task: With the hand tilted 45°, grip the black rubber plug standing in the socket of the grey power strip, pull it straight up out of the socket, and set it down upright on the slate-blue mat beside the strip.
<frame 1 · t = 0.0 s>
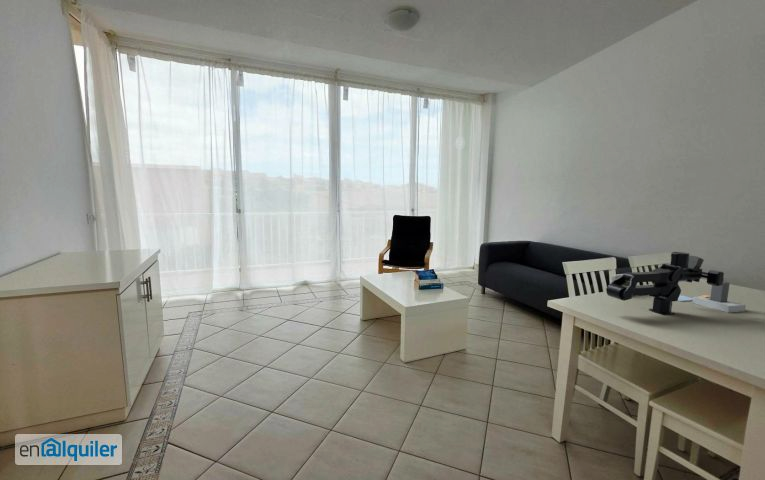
hand: (710, 273, 146), 17 cm above the table, tool horizontal, fingers open, 9 cm apart
power strip: (717, 306, 151), on the table
digital clock: (623, 294, 172), on the table
pad: (677, 298, 164), on the table
plug: (717, 306, 151), resting in power strip
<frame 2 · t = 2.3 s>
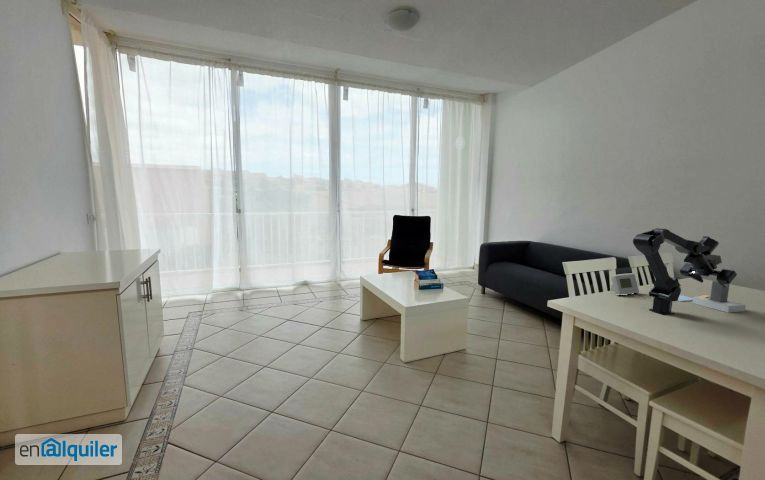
hand: (714, 284, 149), 11 cm above the table, tool tilted 45°, fingers open, 9 cm apart
nothing on the table moved.
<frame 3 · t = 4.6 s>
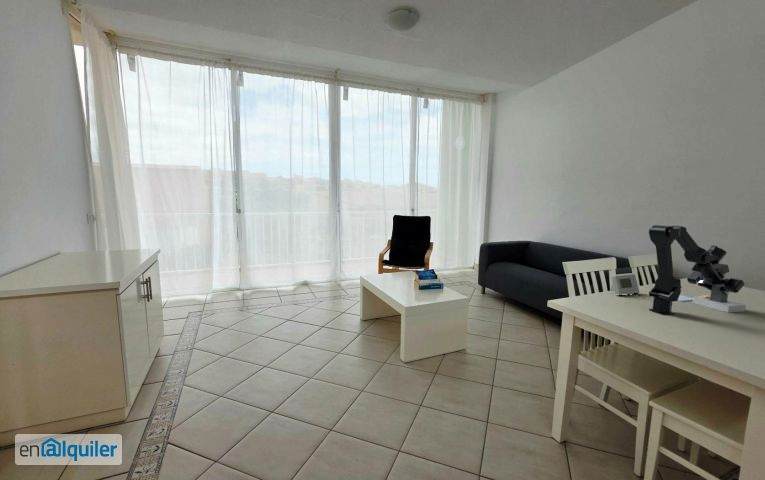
hand: (721, 293, 151), 7 cm above the table, tool tilted 45°, fingers closed on plug, 4 cm apart
plug: (717, 306, 151), resting in power strip, touching gripper
everything else where it was.
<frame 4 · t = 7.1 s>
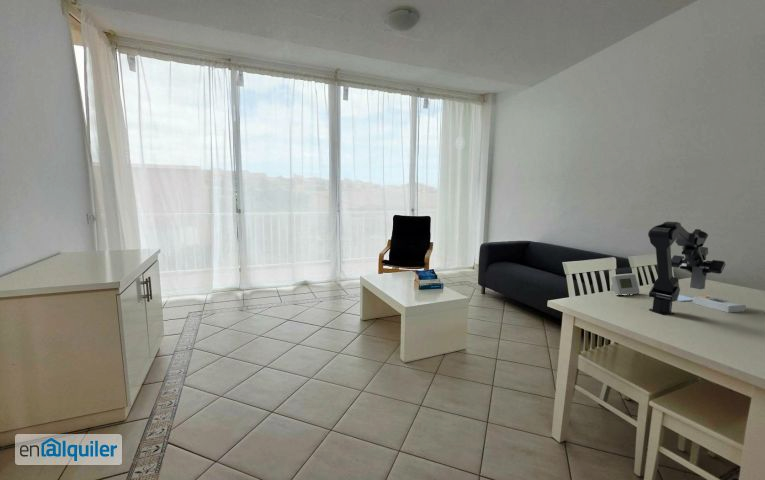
hand: (700, 274, 158), 13 cm above the table, tool tilted 45°, fingers closed on plug, 4 cm apart
plug: (697, 288, 158), point 7 cm above the table, touching gripper
everything else where it was.
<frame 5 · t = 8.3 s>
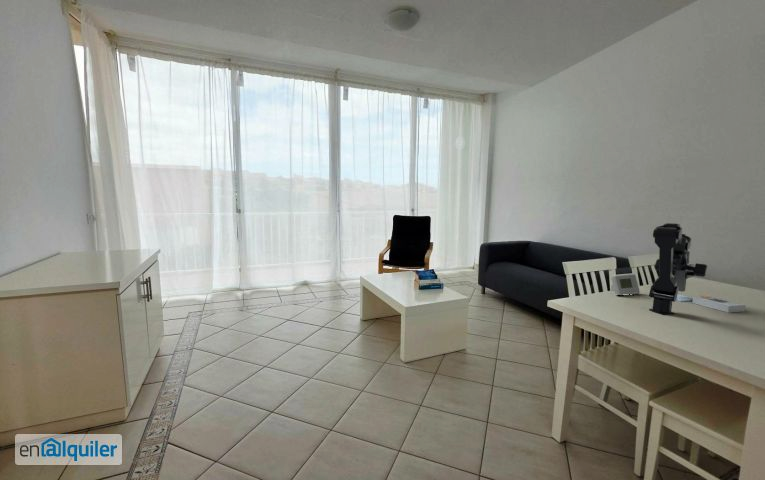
hand: (680, 277, 164), 11 cm above the table, tool tilted 45°, fingers closed on plug, 4 cm apart
plug: (678, 290, 164), point 4 cm above the table, touching gripper
everything else where it was.
when the fingers open (8 cm above the table, at t = 9.5 s): plug drops 1 cm, resting on pad.
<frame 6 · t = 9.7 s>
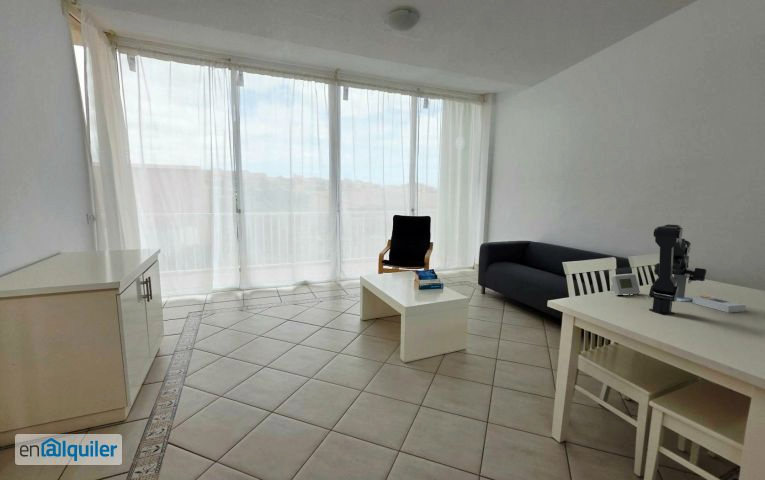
hand: (680, 281, 164), 9 cm above the table, tool tilted 45°, fingers open, 6 cm apart
plug: (678, 296, 164), point 1 cm above the table, touching pad
everything else where it was.
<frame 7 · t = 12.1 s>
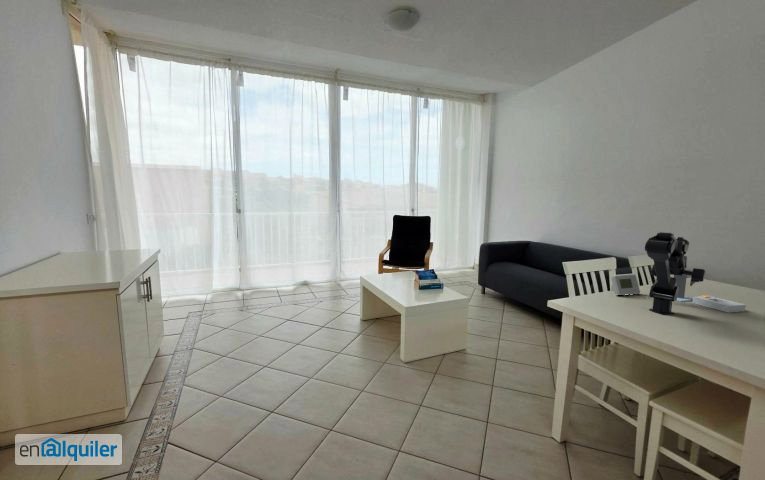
hand: (678, 283, 158), 9 cm above the table, tool tilted 40°, fingers open, 9 cm apart
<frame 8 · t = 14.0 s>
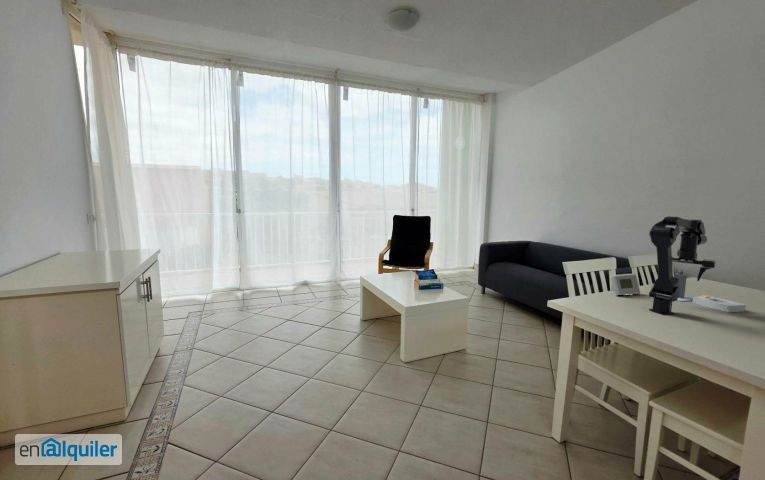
hand: (684, 279, 150), 13 cm above the table, tool pointing down, fingers open, 9 cm apart
at the end: plug 0.0 cm off-centre on the pad, point 0.6 cm above the pad's base; plug tilted 0°; the gripper is holding nothing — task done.
